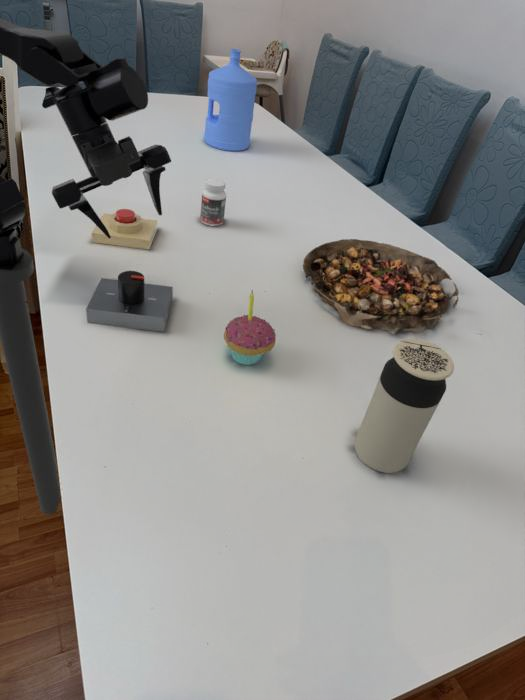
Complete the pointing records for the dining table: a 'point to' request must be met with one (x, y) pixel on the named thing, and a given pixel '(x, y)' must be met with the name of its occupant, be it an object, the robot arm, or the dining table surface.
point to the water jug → (230, 106)
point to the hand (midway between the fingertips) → (135, 226)
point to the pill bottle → (213, 202)
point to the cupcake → (249, 337)
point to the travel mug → (402, 404)
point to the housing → (126, 232)
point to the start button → (125, 216)
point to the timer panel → (130, 307)
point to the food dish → (379, 285)
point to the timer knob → (131, 287)
